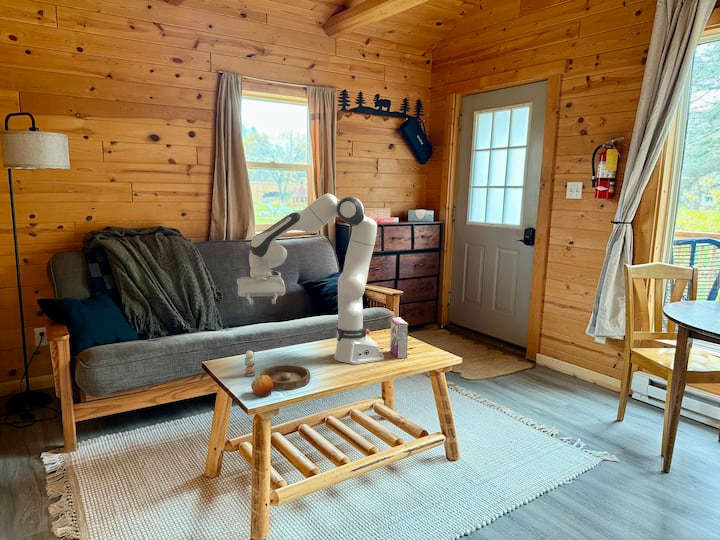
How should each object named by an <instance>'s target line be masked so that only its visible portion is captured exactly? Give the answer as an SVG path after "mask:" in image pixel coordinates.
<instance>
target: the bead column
mask: <svg viewBox="0 0 720 540" xmlns="http://www.w3.org/2000/svg"><path fill="white" fill-rule="evenodd" d="M254 356H255V355H254V351H252V350H250V349H249V350H247V351H246V352H245V357H244V365H245V369H244V371H245V372H244V377H245V378H254V377H255V376H256V372H255V363H256V362H255V357H254ZM253 376H254V377H253Z"/></svg>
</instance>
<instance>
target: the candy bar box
mask: <svg viewBox="0 0 720 540" xmlns="http://www.w3.org/2000/svg"><path fill="white" fill-rule="evenodd" d="M408 330H409V323H408V322H407V321H405V320H404V319H403V318H402V317H390V350H389V351H390V353H391V354H393V356H395V357H396V359H398V360H399V359H408V340H409V339H408V336H409V335H408V334H409V331H408Z"/></svg>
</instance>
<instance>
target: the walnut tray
mask: <svg viewBox="0 0 720 540" xmlns="http://www.w3.org/2000/svg"><path fill="white" fill-rule="evenodd" d="M262 375H268V376H269V377H270V378H271V379H272V380H273V383H274V386H273V390H274V389H276V390H277V391H288V390H289V391H293V390H296V389H300V388H302V387H305V386H307V385H308V384H309V383H310V381H311V372H310V370H309V368H306V367H304V366H301V365H296V364H295V365H294V364H282V365H273V366H271V367H266V368H265V369H263V370H262V371H261V372H260V375H259V376H262Z"/></svg>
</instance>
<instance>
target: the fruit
mask: <svg viewBox="0 0 720 540" xmlns="http://www.w3.org/2000/svg"><path fill="white" fill-rule="evenodd" d="M250 385H251V389H252V392H253V393H254V394H255V395H256V396H257V397H260V398H263V397H267V396H271V395H272V392H273V390H274V389H273V386H274V383H273V380H272V379H271V378H270V377H269V376H268V375H262V376H260V375H259V376H257V377H256V378H255V379H254V380H253V381H252V383H251V384H250Z"/></svg>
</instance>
